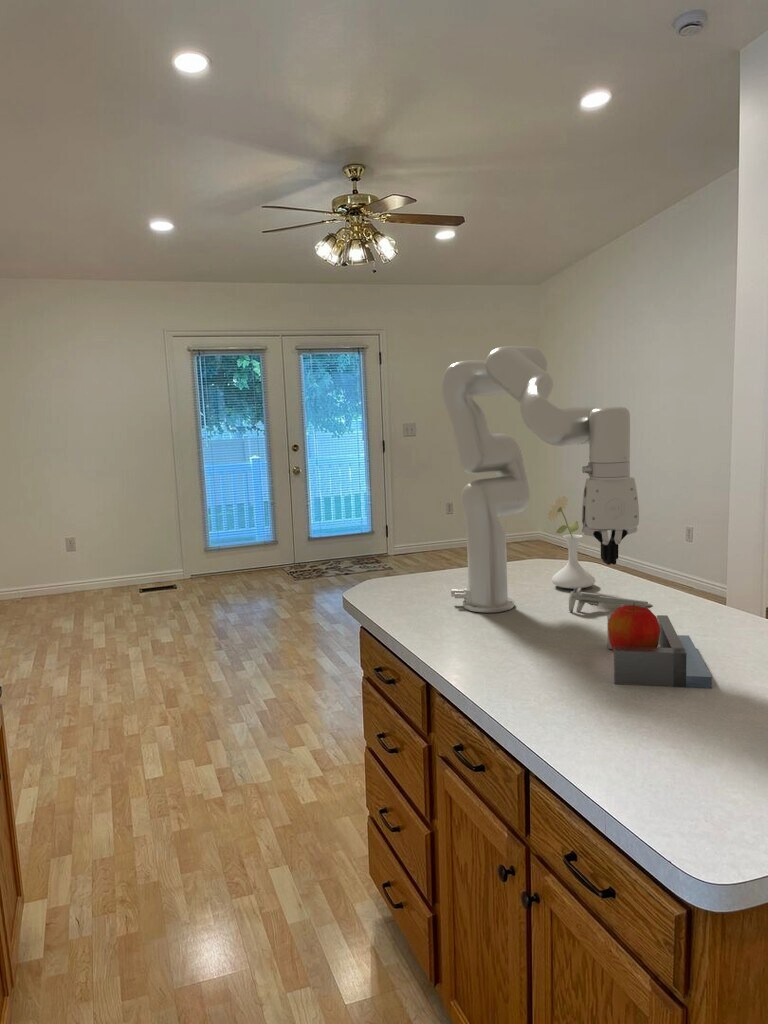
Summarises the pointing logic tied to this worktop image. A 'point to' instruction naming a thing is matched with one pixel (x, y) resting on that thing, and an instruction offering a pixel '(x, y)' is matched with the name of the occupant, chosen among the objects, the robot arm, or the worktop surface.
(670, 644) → the bracket
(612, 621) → the apple
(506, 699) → the worktop surface
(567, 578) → the flower in vase
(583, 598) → the caliper
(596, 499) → the robot arm
